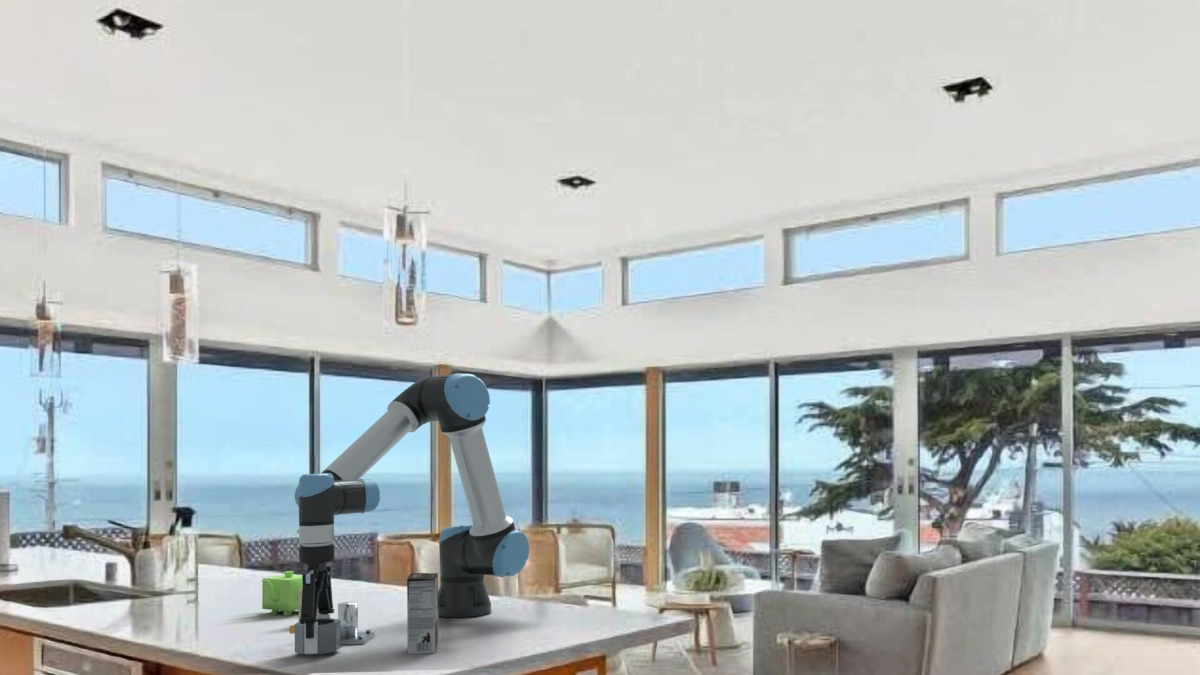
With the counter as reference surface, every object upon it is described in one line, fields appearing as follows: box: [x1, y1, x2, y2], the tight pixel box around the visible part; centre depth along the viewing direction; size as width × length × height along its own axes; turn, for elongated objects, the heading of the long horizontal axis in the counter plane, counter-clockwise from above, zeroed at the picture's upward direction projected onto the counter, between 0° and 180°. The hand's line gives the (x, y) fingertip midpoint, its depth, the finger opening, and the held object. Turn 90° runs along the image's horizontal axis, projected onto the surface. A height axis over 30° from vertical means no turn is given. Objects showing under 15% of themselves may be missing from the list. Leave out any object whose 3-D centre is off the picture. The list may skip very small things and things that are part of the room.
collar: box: [289, 617, 342, 655], centre depth 236 cm, size 10×9×6 cm
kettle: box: [260, 570, 303, 617], centre depth 296 cm, size 15×14×11 cm
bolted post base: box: [337, 601, 375, 646], centre depth 251 cm, size 10×10×8 cm
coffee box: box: [406, 572, 440, 655], centre depth 238 cm, size 9×6×16 cm
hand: (317, 648), depth 236 cm, fingers closed on collar, 9 cm apart
